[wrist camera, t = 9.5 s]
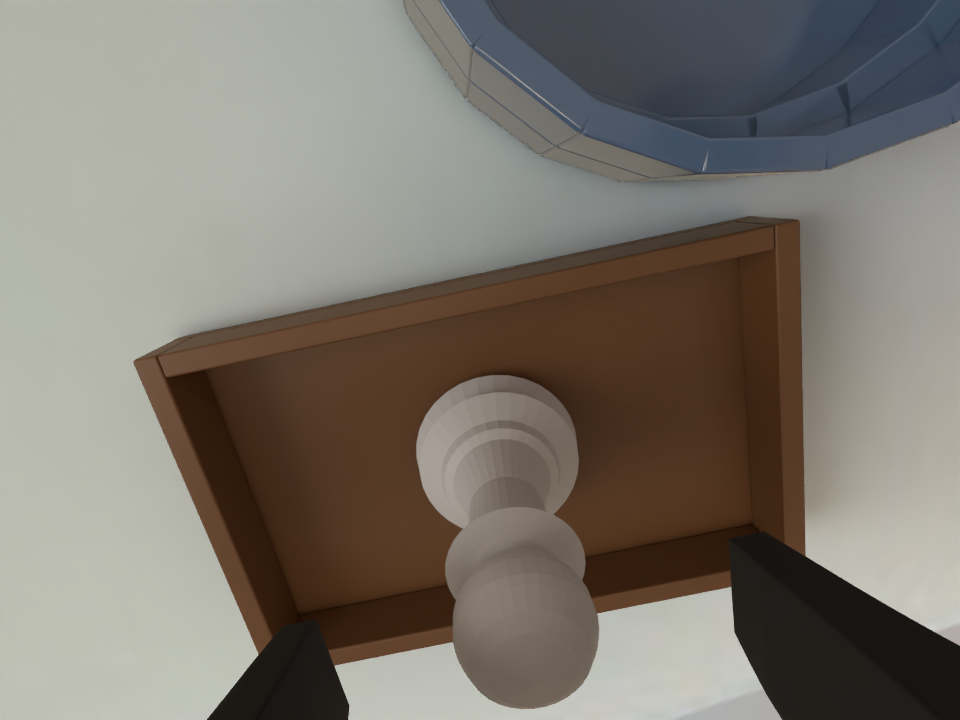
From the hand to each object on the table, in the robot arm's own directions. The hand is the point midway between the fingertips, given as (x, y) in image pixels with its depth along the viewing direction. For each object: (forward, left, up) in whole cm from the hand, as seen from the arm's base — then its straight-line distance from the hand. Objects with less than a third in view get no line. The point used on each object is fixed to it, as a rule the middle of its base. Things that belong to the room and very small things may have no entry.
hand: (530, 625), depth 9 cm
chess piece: (0, 0, -7) cm, 7 cm away
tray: (0, 0, -7) cm, 7 cm away
